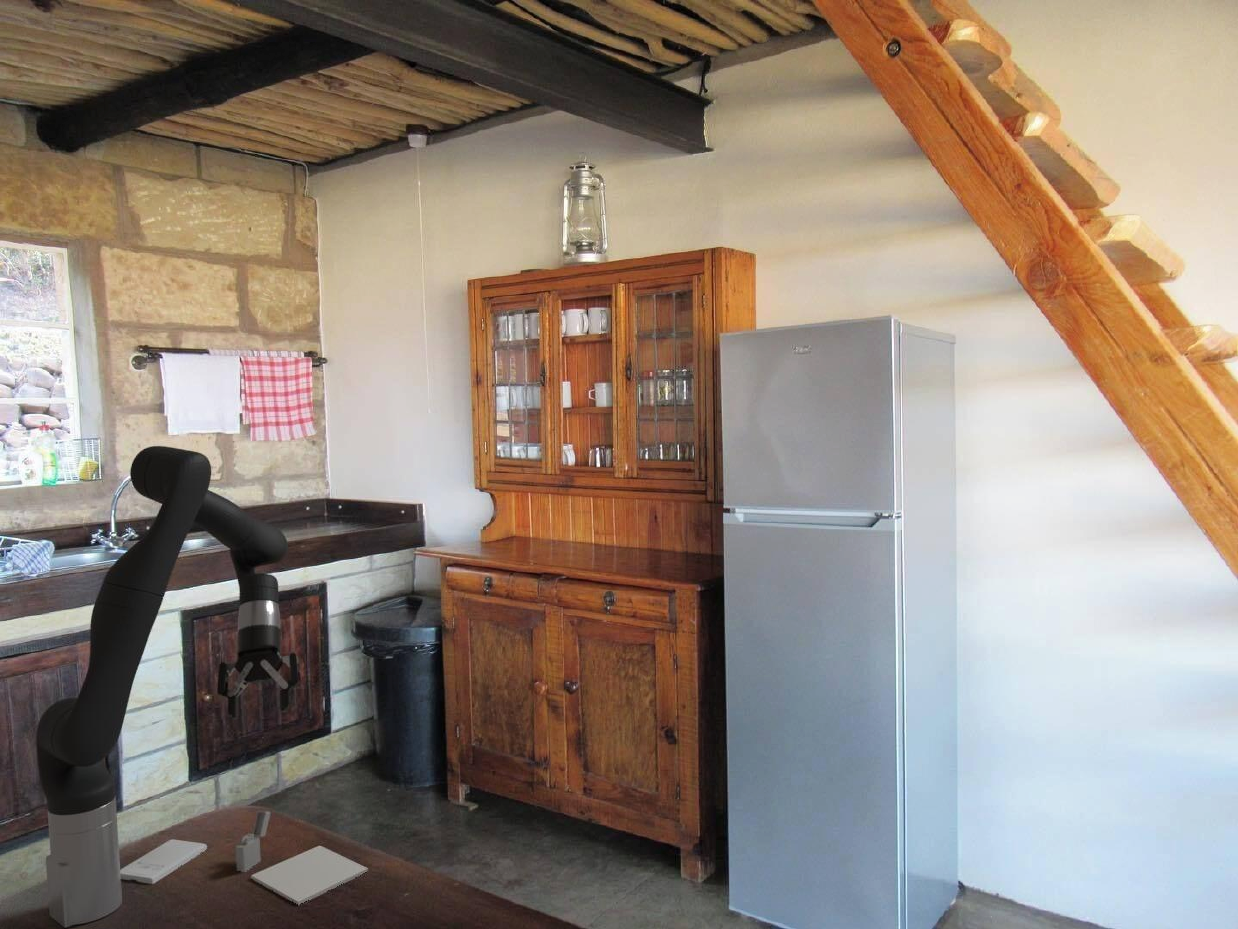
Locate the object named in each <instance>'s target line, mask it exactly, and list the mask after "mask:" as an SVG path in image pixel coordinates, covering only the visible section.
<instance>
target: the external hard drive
mask: <svg viewBox="0 0 1238 929" xmlns="http://www.w3.org/2000/svg"><path fill="white" fill-rule="evenodd" d="M206 849H207V850H208V846H207V843H206V844H205V843H201V842H196V841H186V840H181V839H173V838H172V839H169V840H168V841H166V842H164V843H162V844H161V845H159V846H158V847H156V848H154V849H153V850H151V851H149V852H147V853H146V854H144V855H142V856H141V857H140V858H139V857H138V858H137V859H136V860H134V861H132V862H131V863H129V864H127V865H126V866H124V867H123V868H120V875H121V880H124V881H125V880H127V881H136V882H137V883H145V884H148V885H154V884H155V883H157V882H158V881H160V880H162V879H163V878H165V877H166V876H168V875H169V874H171V873H172V872H174V871H176V870H177V869H179V868H180V866H181V865H182V866H183V865H185V864H187V863H188V862H190V861H192V860H193V859H195V858H196V857H198V856H200V855H201V854H202V853H201V852H203V853H204V852H206V851H207V850H206ZM205 850H206V851H205ZM200 853H201V854H200ZM197 855H198V856H197ZM191 859H192V860H191ZM182 866H181V867H182ZM178 867H179V868H178Z"/></svg>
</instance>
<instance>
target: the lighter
mask: <svg viewBox="0 0 1238 929" xmlns="http://www.w3.org/2000/svg"><path fill="white" fill-rule="evenodd" d="M270 818H271V812H270V811H267V810H258V811H257V813H256V816H255V821H254V825H253V830H252V833H247V834H246V835H244V836H242V837H241V842H240V843H238V844H237V845H235V859H236V860H235V862H236V872H237V871H241V872H240V873H243V872H244V873H246V872H248V871H249V870H251V869H252V868H253V867H252V866H254V865H255V866H256V864H257V863H258V862H259V863H261V862H260V861H262V859H261V844H260V842H261V840H260V838H265V837H266V834H267V829H268V825H269V821H270ZM259 863H258V864H259ZM258 864H257V865H258ZM255 866H254V867H255ZM250 868H251V869H250ZM247 870H248V871H247Z"/></svg>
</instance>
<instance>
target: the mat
mask: <svg viewBox="0 0 1238 929" xmlns="http://www.w3.org/2000/svg"><path fill="white" fill-rule="evenodd" d="M367 871H368V872H369V867H366V866H363V865H362V864H360V863H357V862H355V861H353V860H352V859H349V858H347V857H345V856H342V855H341V854H339V853H337V852H334V851H332V850H331V849H328V848H327V847H324V846H321V845H318V846H316V847H313V848H311V849H309V850H306V851H304V852H302V853H299V854H297V855H294V856H291V857H290V858H288V859H285V860H283V861H281V862H279V863H276V864H274V865H271V866H270V867H267V868H265V869H262V870H260V871H258V872H256V873H253V874H252V875H251V876H250V877H251V880H252V879H253V880H252V881H255V882H256V883H257V884H260V885H261V884H262V885H261V886H264V887H265V888H267V889H268V890H270V889H271V890H270V891H272V890H273V891H272V892H274V893H276V894H277V895H279V896H281V897H283V898H285V899H287V901H288V900H289V902H292V901H293V902H294V903H293V902H292V903H293V904H295V903H296V905H297V904H298V905H297V906H301V905H302V904H301V903H303V904H305V903H306V902H305V901H307V902H309V901H310V900H313V899H315V898H318V897H319V896H321V895H323V894H326V893H327V891H328V890H330V891H331V889H332V890H334V889H335V888H338V887H340V886H341V884H342V885H344V884H346V883H348V882H350V881H353V880H354V879H356V878H355V877H357V878H359V877H361V876H362V874H363V873H365V872H367ZM368 872H367V873H368ZM365 874H366V873H365ZM360 875H361V876H360ZM363 875H364V874H363ZM358 876H359V877H358ZM343 883H344V884H343ZM339 885H340V886H339ZM337 886H338V887H337ZM328 892H329V891H328ZM308 900H309V901H308ZM304 902H305V903H304ZM300 904H301V905H300Z"/></svg>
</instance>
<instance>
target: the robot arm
mask: <svg viewBox="0 0 1238 929" xmlns="http://www.w3.org/2000/svg"><path fill="white" fill-rule="evenodd" d="M129 472H130V474H129V477H130V481H131V484H132V486H133V488H134V489H135V491H136V492H137V493H138V494H139V495H140V496H142V497H144V498H147V499H149V500H151V501H154V502H156V503H159V504H161V506H160V508H159V510H158V513H157V515H156V517H155V519H154V521H153V522H152V524H151V526H150V527H149V529H148V530H147V531H146V532H145V534H144V535H143V536H141V538H140V539H138V541H137V542H136V543H134V544H133V545H132V546H130V547H129V549H128V550H126V551H125V552H124V553H123V554H122V555H121V556H120V557H119V558H118V559H117V560H116V561H115V562H114V563H113V564H112V565H111V566H110V568H109V570H107V572H106V574H105V576H104V578H103V581H102V584H101V585H100V586H101V587H100V589H99V591H98V593H97V596H96V599H95V602H94V605H93V608H92V611H91V617H90V625H89V626H90V628H89V629H90V630H89V634H90V635H89V662H88V668H87V671H86V675H85V677H84V681H83V683H82V686H81V687H80V691H79V693H78V695H77V697H66V698H63V699H60V700H58V701H56V702H54V703H53V704H51V705H50V706H49V707H48V708H47V709H45V710H44V712H43V713H42V715H41V717H40V719H39V721H38V724H37V728H36V735H35V738H36V739H35V740H36V741H35V744H36V754H37V757H36V758H37V765H38V772H39V773H38V774H39V780H40V787H41V790H42V793H43V795H44V797H45V799H46V806H47V807H46V808H47V819H48V820H47V821H48V834H49V835H48V836H49V838H48V839H49V850H50V854H49V855H47V856H46V857H45V867H46V883H47V895H48V896H47V899H48V911H49V917H51V918H52V919H53V920H54V921H56V922H57V923H58V924H59V925H60V926H62V927H63V928H69V927H71V926H75V925H82V924H86V923H90V922H94V921H97V920H99V919H102V918H104V917H106V916H108V915H110V914H112V913H113V912H116V911H117V910H118V908H120V907H121V905H122V902H123V893H122V892H123V890H122V889H123V888H122V879H121V875H120V870H121V864H120V862H121V860H120V848H119V847H120V846H119V845H120V844H119V831H118V830H119V829H118V817H117V816H118V815H117V799H116V798H117V797H116V783H115V780H114V777H113V776H112V775H111V773H110V771H109V770H108V769H107V766H106V765H105V762H104V759H106V757H107V756H108V755H110V753H111V752H112V751H113V749H114V748H115V746H116V745H117V742H118V741H119V739H120V735H121V733H122V729H123V726H124V720H125V717H126V714H127V713H126V712H127V708H128V705H129V700H130V698H131V692H132V688H133V685H134V681H135V677H136V674H137V672H138V669H139V667H140V664H141V660H142V658H143V655H144V652H145V649H146V646H147V644H148V641H149V637H150V635H151V632H152V629H153V626H154V624H155V623H156V620H157V617H158V615H159V611H160V610H161V606H162V603H163V601H164V597H165V595H166V592H167V589H168V585H169V582H170V579H171V576H172V574H173V571H174V568H175V565H176V563H177V560H178V558H179V555H180V553H181V550H182V548H183V545H184V543H185V540H186V538H187V536H188V534H189V532H190V529H191V527H192V525H193V523H194V524H195V525H197V526H198V527H200V528H201V529H202V530H204V531H205V532H206V533H208V534H209V535H211V537H213V538H214V539H215V540H217V541H218V542H220V543H221V544H222V545H223V546H225V547H226V548H228V549H229V555H230V559H231V561H232V564H233V568H234V571H235V575H236V580H237V582H238V588H239V590H238V591H239V595H238V596H239V598H238V599H239V602H238V604H239V607H238V608H239V609H238V615H237V616H238V618H237V659H236V662H234V663H226V662H220V663H219V666H218V678H217V689H216V690H217V694H218V695H219V696H220V697H222V698H226V699H227V701H228V702H227V705H228V706H227V713H228V715H229V717H231V719H232V720H239V718H240V698H238V697H239V696H240V695H241V693H242V692H243V691H244V690H245V689H246V688H247V687H248V686H249V684H251V685H257V684H259V683H270V682H271V681H272V680H274V681H275V682H276V683H277V684H278V685H279V686H280V688H281V690H280V695H279V697H280V699H279V700H280V701H279V702H280V712H281V713H287V712H288V709H291V708H290V707H291V705H292V704H291V691H292V690H293V689H295V688H299V687H301V685H302V680H301V668H300V658H299V656H298V655H297V654H296V653H295V652H291V653H290V654H289V655H284V656H282V652H281V651H282V646H281V644H282V643H281V639H282V638H281V627H282V623H281V622H282V621H281V614H280V607H279V606H280V605H279V599H280V598H279V583H278V582H279V581H278V578H277V577H275V576H274V575H272V574H269V573H260V572H259V573H255V571H256V568H258V567H263V566H268V565H272V564H276V563H279V562H281V561H282V560H283V559H285V557H286V556H287V555H288V549H289V544H288V541H287V540H288V539H287V538H286V536H285V535H284V532H282V530H281V529H279V528H278V527H276V526H274V524H273V525H272V524H270V523H269V522H266V521H264V520H261V519H257V518H254V517H252V516H251V515H249V514H248V512H246V511H245V510H243V508H241V507H240V506H239V505H238V504H236V503H235V502H233V501H231V500H230V499H228V498H226V497H224V496H222V495H221V494H217V493H216V492H214V491H211V490H209V487H210V483H211V479H212V465H211V462H210V460H209V457H207V455H205V454H203V453H201V452H198V451H194V450H187V449H183V448H177V447H172V446H165V445H153V446H148V447H145V448H143V449H141V451H139V452H138V453H137V454H136V455H135V457H134V459H133V460H132V462H131V466H130V470H129ZM284 663H285V664H286V666H287V667H289V669H290V679H289V681H286V680H285V679H284V678H283V676H281V674H280V673H279V671H280V669H281V668H282V666H283V665H284ZM235 670H236V671H237V673H239V675H238V676H237V678H236V679H235V680H234V682H233V685H232V686H231V688H230V689H229V683H230V676H233V673H234V671H235Z"/></svg>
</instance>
